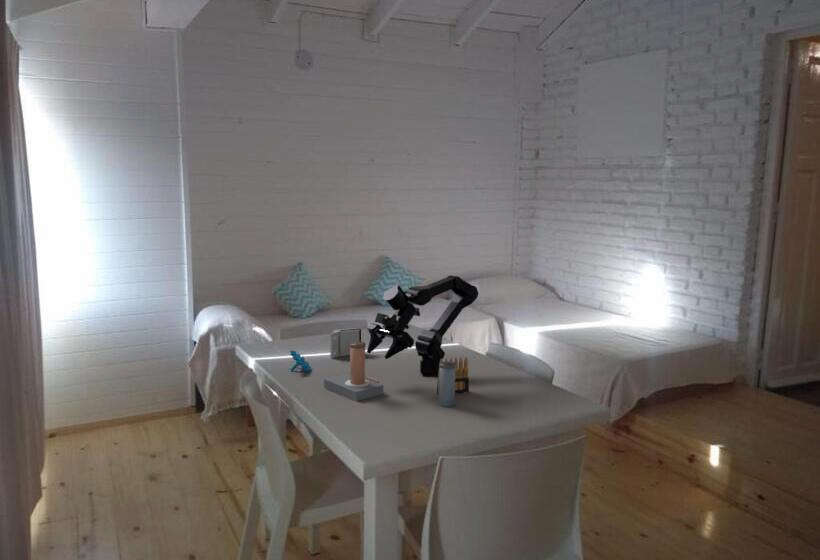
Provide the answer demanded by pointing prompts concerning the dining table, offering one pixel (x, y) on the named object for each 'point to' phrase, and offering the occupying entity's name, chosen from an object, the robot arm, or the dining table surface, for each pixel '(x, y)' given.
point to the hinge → (343, 341)
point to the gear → (299, 361)
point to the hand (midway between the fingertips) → (376, 355)
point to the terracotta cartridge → (357, 363)
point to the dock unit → (353, 387)
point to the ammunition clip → (458, 376)
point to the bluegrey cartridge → (447, 384)
